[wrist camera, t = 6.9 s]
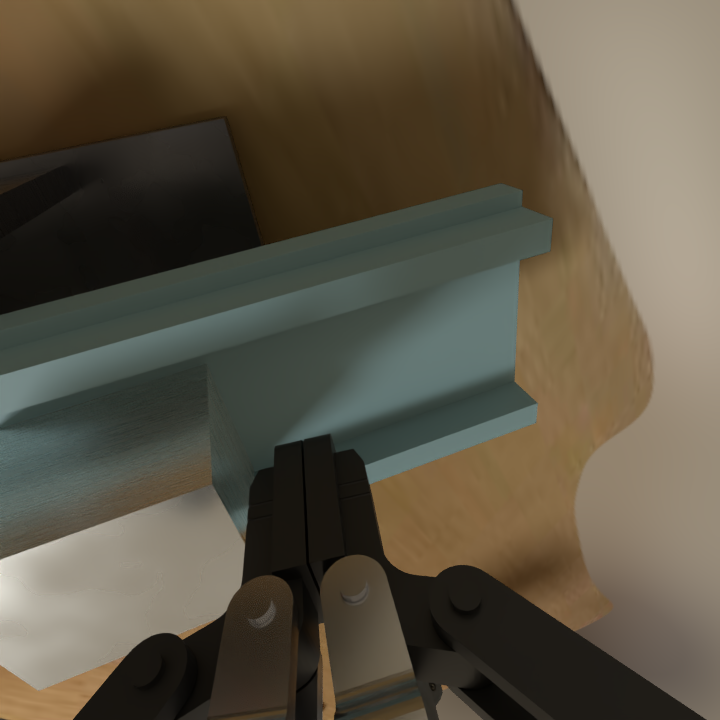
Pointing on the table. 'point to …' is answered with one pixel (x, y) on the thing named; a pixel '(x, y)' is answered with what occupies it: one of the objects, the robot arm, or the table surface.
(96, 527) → the steel slider
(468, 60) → the table surface
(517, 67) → the table surface
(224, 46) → the table surface
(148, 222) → the beam stand
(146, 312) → the seesaw beam
